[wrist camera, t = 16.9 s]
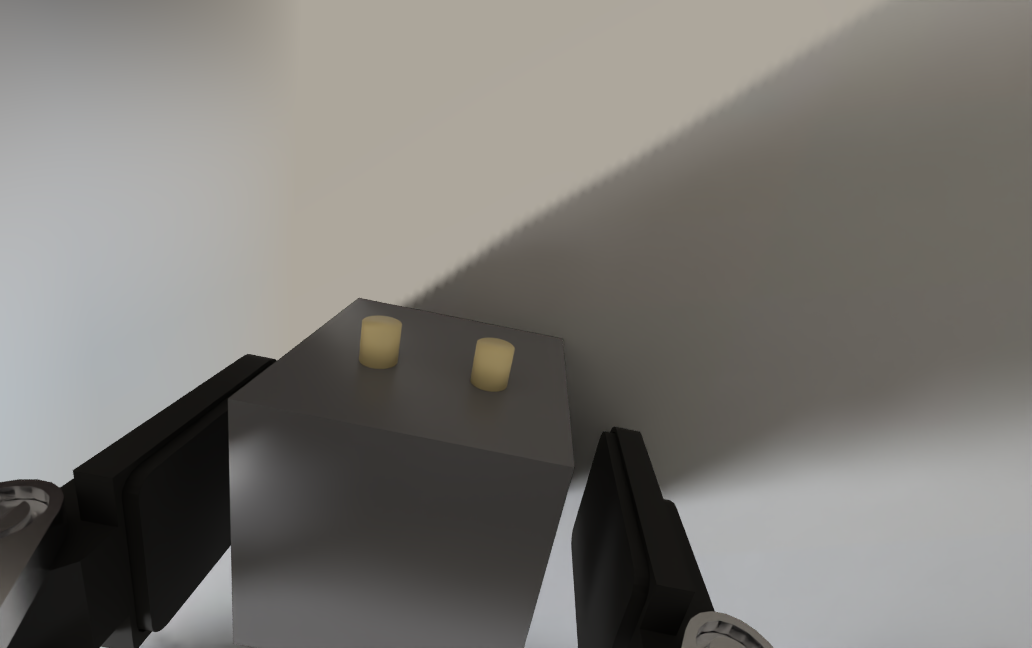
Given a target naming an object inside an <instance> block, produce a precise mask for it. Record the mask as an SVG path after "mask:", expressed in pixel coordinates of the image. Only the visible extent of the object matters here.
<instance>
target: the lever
mask: <svg viewBox="0 0 1032 648" xmlns="http://www.w3.org/2000/svg"><path fill="white" fill-rule="evenodd" d="M228 431H229V476H230V521H231V567H232V612H233V644H238V645H243V646H249V647H254V648H524V645H525V642H526V638H527V635H528V631H529V628H530V624H531V620H532V617H533V613H534V610H535V606H536V603H537V599H538V596H539V592H540V588H541V585H542V581H543V578H544V574H545V571H546V567H547V564H548V560H549V556H550V553H551V549H552V546H553V542H554V539H555V535H556V532H557V528H558V524H559V521H560V517H561V514H562V510H563V507H564V503H565V500H566V496H567V492H568V489H569V485H570V482H571V478H572V475H573V471H574V468H575V467H574V456H573V445H572V434H571V423H570V412H569V402H568V391H567V380H566V369H565V358H564V347H563V339H561V338H556V337H551V336H546V335H541V334H536V333H531V332H526V331H521V330H516V329H511V328H506V327H501V326H496V325H491V324H486V323H481V322H476V321H471V320H466V319H462V318H457V317H452V316H447V315H442V314H437V313H432V312H427V311H422V310H417V309H412V308H407V307H402V306H397V305H392V304H387V303H381V302H377V301H372V300H367V299H362V298H358V299H357V300H355V301H354V302H353V303H351V304H350V305H349V306H348V307H346V308H345V309H344V310H342V311H341V312H340V313H338V314H337V315H336V316H335V317H333V318H332V319H331V320H329V321H328V322H327V323H325V324H324V325H323V326H322V327H320V328H319V329H318V330H316V331H315V332H314V333H313V334H311V335H310V336H309V337H307V338H306V339H305V340H303V341H302V342H301V343H300V344H298V345H297V346H296V347H295V348H293V349H292V350H290V351H289V352H288V353H287V354H285V355H284V356H283V357H282V358H280V359H279V360H277V361H276V362H275V363H274V364H272V365H271V366H270V367H268V368H267V369H266V370H264V371H263V372H262V373H261V374H259V375H258V376H257V377H255V378H254V379H253V380H252V381H250V382H249V383H248V384H246V385H245V386H244V387H242V388H241V389H240V390H239V391H237V392H236V393H235V394H233V395H232V396H231V397H229V398H228Z"/></svg>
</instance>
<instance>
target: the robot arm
mask: <svg viewBox="0 0 1032 648" xmlns="http://www.w3.org/2000/svg"><path fill="white" fill-rule="evenodd" d="M275 362H276V360H275V359H271V358H266V357H261V356H256V355H251V354H247V355H245V356H243V357H241V358H240V359H238V360H237V361H235V362H234V363H232V364H231V365H229V366H228V367H226V368H225V369H223V370H222V371H220V372H219V373H217V374H216V375H214V376H213V377H212V378H210V379H208V380H207V381H206V382H204V383H202V384H201V385H199V386H198V387H197V388H195V389H194V390H192V391H191V392H189V393H188V394H186V395H185V396H183V397H182V398H180V399H179V400H177V401H176V402H174V403H173V404H171V405H170V406H168V407H167V408H165V409H164V410H162V411H161V412H159V413H158V414H156V415H155V416H153V417H152V418H151V419H149V420H147V421H146V422H144V423H143V424H141V425H140V426H138V427H137V428H135V429H134V430H132V431H131V432H129V433H128V434H126V435H125V436H123V437H122V438H120V439H119V440H118V441H116V442H115V443H113V444H112V445H110V446H109V447H107V448H106V449H104V450H103V451H101V452H100V453H98V454H97V455H95V456H94V457H92V458H91V459H89V460H88V461H86V462H85V463H83V464H82V465H80V466H79V467H77V468H76V469H74V470H73V474H74V479H72V480H71V481H69V482H68V483H66V484H65V485H63V486H62V487H58V486H56V485H55V484H53V483H52V482H47V481H42V480H37V479H34V480H32V479H31V480H30V479H29V480H28V479H24V480H22V479H19V480H13V481H6V482H0V648H100V647H106V648H139V646H140V645H141V644H142V643H143V642H144V640H145V639H146V638H147V637H148V636H149V634H150V633H151V632H152V631H153V632H158V631H160V630H162V629H163V628H164V627H165V626H166V625H167V624H168V623H169V622H170V620H171V619H172V618H173V617H174V615H175V614H176V613H177V612H178V610H179V609H180V608H181V607H182V605H183V604H184V603H185V602H186V600H187V599H188V598H189V597H190V595H191V594H192V593H193V592H194V590H195V589H196V588H197V587H198V585H199V584H200V583H201V582H202V580H203V579H204V578H205V577H206V575H207V574H208V573H209V572H210V570H211V569H212V568H213V567H214V565H215V564H216V563H217V562H218V560H219V559H220V558H221V557H222V556H223V554H224V553H225V552H226V551H227V549H228V548H229V547H230V546H231V521H230V476H229V431H228V398H229V397H231V396H232V395H233V394H235V393H236V392H237V391H239V390H240V389H241V388H242V387H244V386H245V385H246V384H248V383H249V382H250V381H252V380H253V379H254V378H255V377H257V376H258V375H259V374H261V373H262V372H263V371H264V370H266V369H267V368H268V367H270V366H271V365H272V364H274V363H275ZM571 548H572V563H573V578H574V593H575V608H576V623H577V637H578V648H773V647H772V645H771V644H770V643H769V642H768V641H767V640H766V639H765V638H764V637H763V636H762V635H761V634H759V633H758V632H757V631H756V630H755V629H753V628H752V627H750V626H749V625H747V624H746V623H744V622H743V621H741V620H739V619H737V618H735V617H732V616H730V615H728V614H724V613H719V612H715V611H714V608H713V605H712V603H711V600H710V597H709V594H708V592H707V589H706V586H705V584H704V581H703V578H702V576H701V573H700V570H699V567H698V565H697V562H696V559H695V557H694V554H693V551H692V549H691V546H690V543H689V540H688V538H687V535H686V532H685V530H684V527H683V524H682V522H681V519H680V516H679V513H678V511H677V508H676V506H675V504H674V503H673V502H672V501H670V500H665V499H663V496H662V494H661V491H660V488H659V485H658V482H657V479H656V476H655V473H654V470H653V467H652V464H651V461H650V458H649V456H648V453H647V450H646V447H645V444H644V441H643V438H642V435H641V433H640V432H638V431H634V430H629V429H624V428H619V427H613V428H612V429H611V431H610V433H609V432H604V431H603V432H602V434H601V436H600V440H599V443H598V446H597V450H596V453H595V456H594V460H593V463H592V467H591V470H590V473H589V477H588V480H587V483H586V487H585V490H584V494H583V497H582V500H581V504H580V507H579V510H578V514H577V517H576V521H575V524H574V528H573V532H572V541H571Z"/></svg>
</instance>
